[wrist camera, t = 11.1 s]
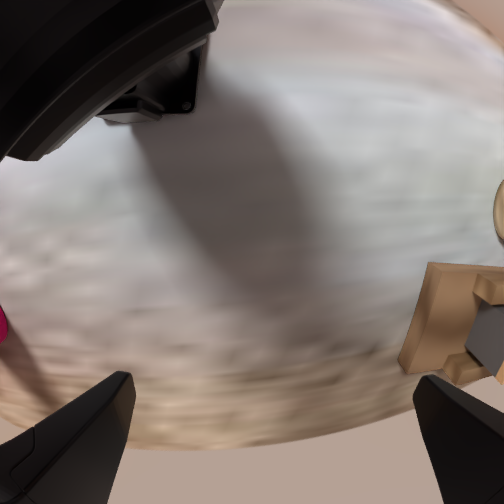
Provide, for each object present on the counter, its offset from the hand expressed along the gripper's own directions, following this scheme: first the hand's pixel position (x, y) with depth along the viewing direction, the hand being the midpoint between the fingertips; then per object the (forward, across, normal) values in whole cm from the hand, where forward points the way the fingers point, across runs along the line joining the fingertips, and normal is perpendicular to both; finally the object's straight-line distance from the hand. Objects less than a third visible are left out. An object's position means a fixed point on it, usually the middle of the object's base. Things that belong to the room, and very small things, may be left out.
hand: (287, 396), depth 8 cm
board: (+12, -18, +4) cm, 22 cm away
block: (+10, -20, +4) cm, 23 cm away
